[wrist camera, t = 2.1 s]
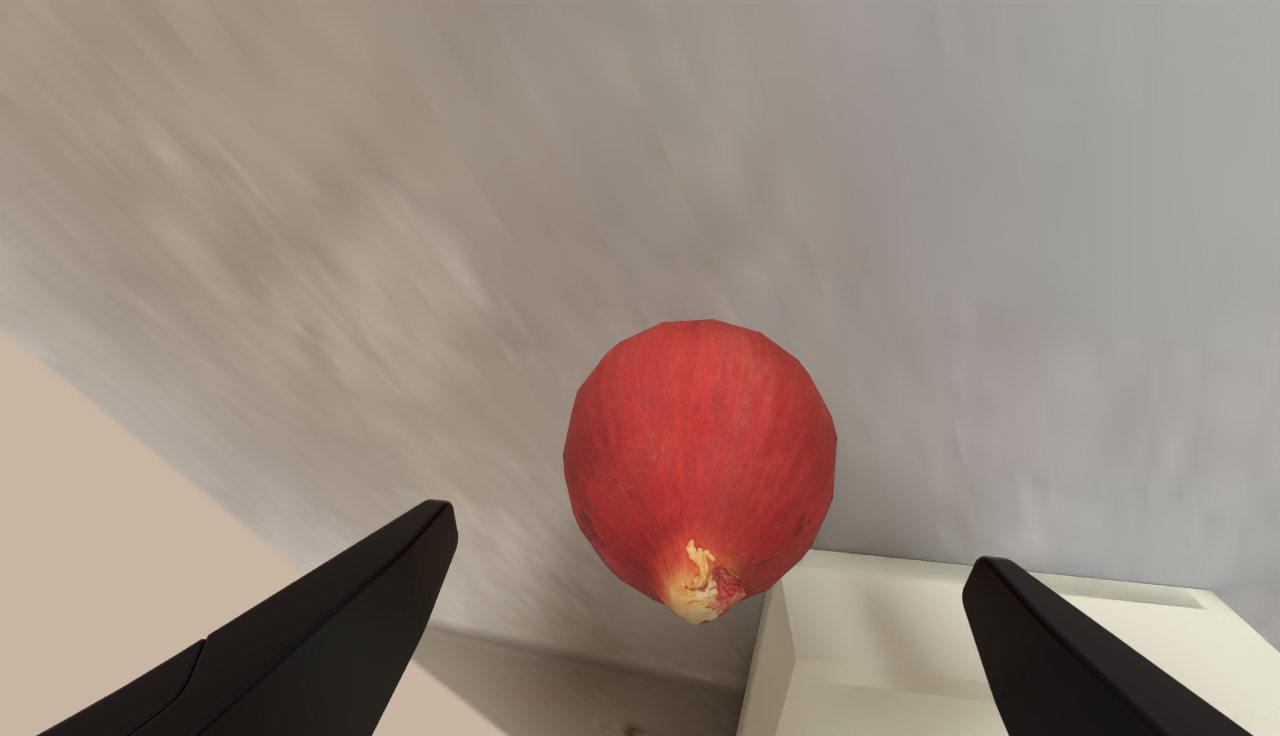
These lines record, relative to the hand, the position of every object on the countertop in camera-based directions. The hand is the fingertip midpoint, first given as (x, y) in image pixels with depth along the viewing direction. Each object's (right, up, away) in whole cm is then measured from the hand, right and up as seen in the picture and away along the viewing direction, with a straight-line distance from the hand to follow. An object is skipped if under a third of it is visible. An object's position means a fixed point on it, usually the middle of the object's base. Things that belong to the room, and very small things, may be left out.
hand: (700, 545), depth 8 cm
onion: (+1, +3, +6) cm, 7 cm away
